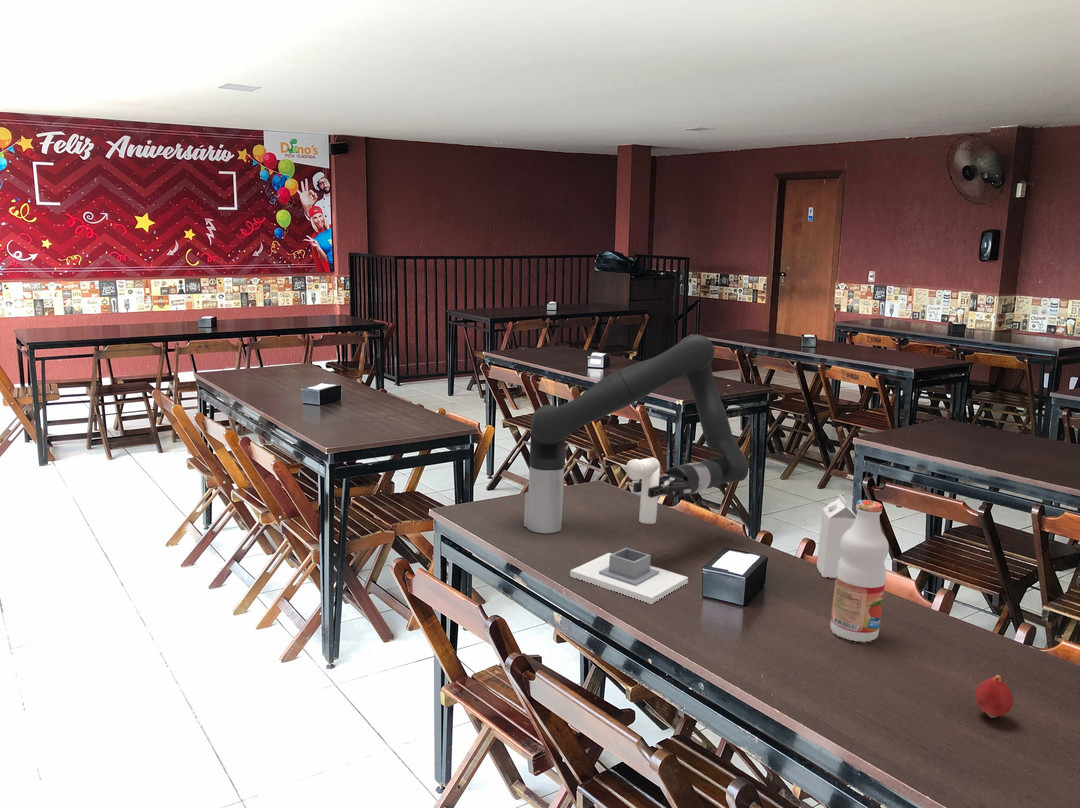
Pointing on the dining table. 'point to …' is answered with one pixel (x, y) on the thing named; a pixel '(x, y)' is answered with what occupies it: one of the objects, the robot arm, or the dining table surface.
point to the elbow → (645, 485)
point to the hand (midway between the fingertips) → (642, 490)
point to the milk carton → (833, 535)
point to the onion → (994, 697)
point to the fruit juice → (860, 576)
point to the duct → (630, 575)
